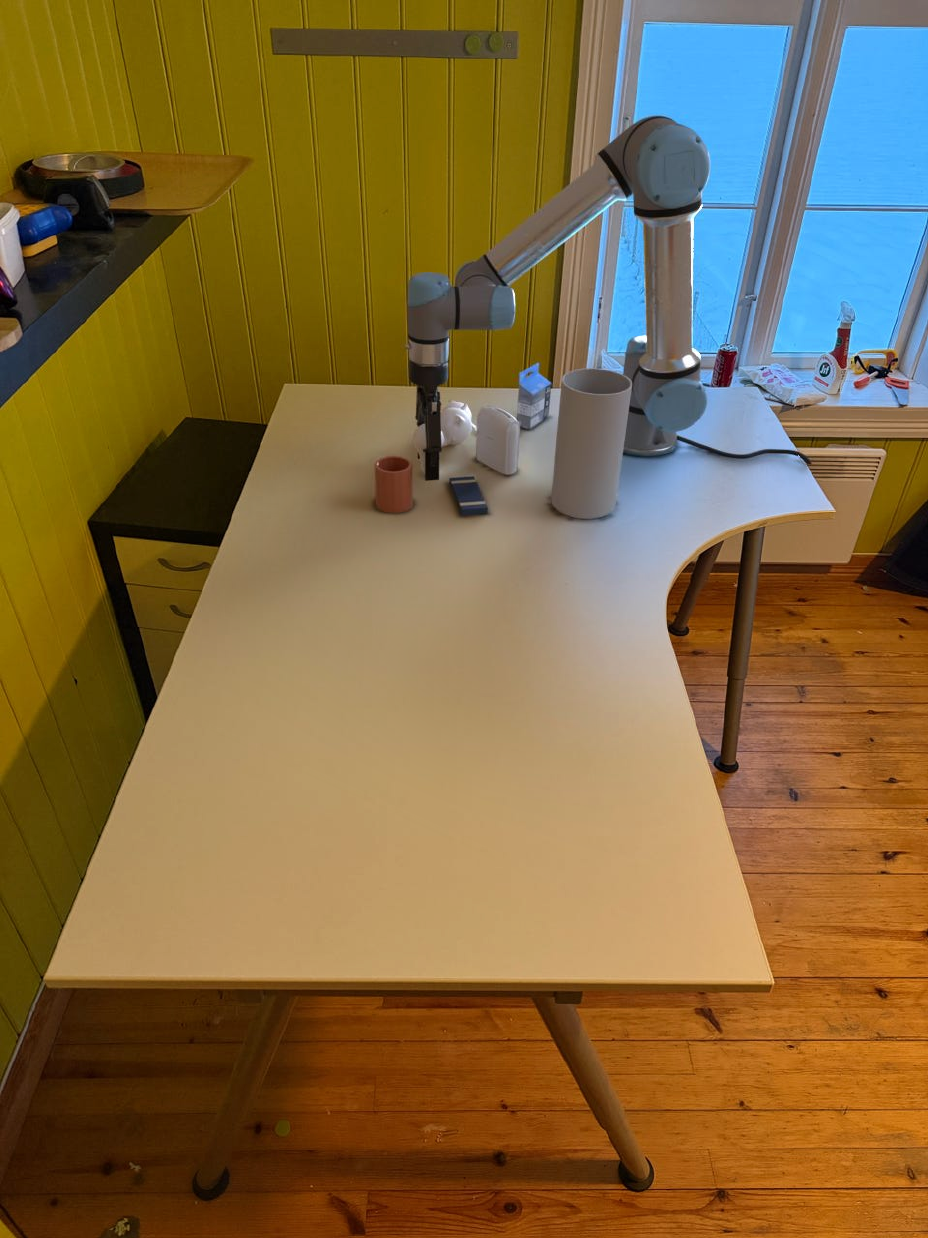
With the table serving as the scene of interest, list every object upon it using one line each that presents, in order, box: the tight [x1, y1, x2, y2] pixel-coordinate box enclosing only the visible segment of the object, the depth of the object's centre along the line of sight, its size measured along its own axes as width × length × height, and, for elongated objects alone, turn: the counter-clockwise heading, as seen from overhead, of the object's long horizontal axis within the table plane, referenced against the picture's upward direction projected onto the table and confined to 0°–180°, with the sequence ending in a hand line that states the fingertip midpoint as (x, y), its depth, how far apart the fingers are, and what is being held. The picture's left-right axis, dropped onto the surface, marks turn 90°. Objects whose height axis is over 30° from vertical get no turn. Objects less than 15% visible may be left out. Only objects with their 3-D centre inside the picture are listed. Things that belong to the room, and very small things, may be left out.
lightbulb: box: [412, 424, 444, 475], centre depth 183 cm, size 6×6×11 cm
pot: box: [373, 455, 414, 514], centre depth 173 cm, size 7×7×8 cm
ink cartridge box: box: [516, 362, 552, 430], centre depth 205 cm, size 9×4×12 cm, turn 147°
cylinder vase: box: [550, 367, 632, 520], centre depth 170 cm, size 12×12×25 cm
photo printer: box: [475, 405, 521, 476], centre depth 186 cm, size 10×4×12 cm, turn 39°
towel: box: [448, 475, 489, 517], centre depth 178 cm, size 5×13×1 cm, turn 11°
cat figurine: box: [440, 399, 477, 447], centre depth 198 cm, size 9×11×12 cm
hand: (428, 468), depth 185 cm, fingers open, 9 cm apart
